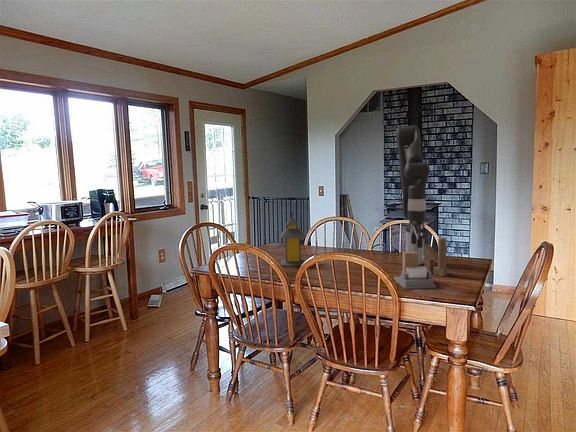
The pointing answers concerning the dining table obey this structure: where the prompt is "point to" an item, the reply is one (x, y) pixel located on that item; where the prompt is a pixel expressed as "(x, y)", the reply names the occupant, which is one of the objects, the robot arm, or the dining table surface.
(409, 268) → the pale grey block
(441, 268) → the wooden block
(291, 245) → the lantern
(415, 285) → the post footing
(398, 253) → the dining table surface
